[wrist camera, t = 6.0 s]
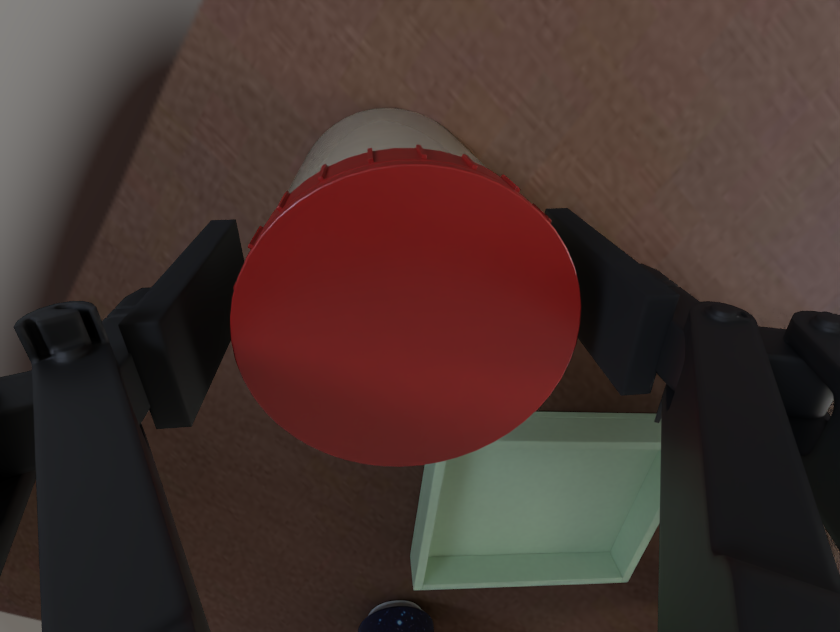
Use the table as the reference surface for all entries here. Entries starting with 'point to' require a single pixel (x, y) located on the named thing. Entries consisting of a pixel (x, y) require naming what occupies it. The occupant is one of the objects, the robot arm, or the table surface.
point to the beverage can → (397, 618)
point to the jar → (377, 138)
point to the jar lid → (404, 308)
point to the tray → (542, 505)
